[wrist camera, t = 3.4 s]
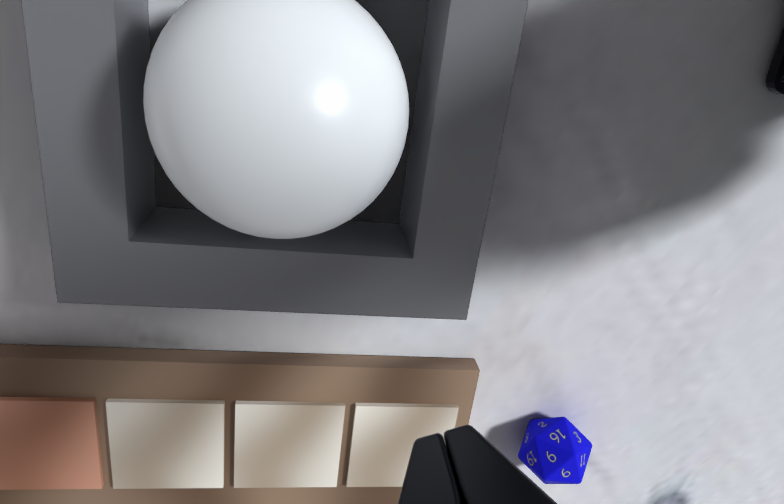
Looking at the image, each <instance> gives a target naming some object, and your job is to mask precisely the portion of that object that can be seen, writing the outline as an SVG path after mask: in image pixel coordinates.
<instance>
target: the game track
mask: <svg viewBox="0 0 784 504" xmlns="http://www.w3.org/2000/svg"><path fill="white" fill-rule="evenodd" d="M479 372H480V370H479V368H478V366H477V363H476V361H475V359H470V358H438V357H405V356H373V355H341V354H309V353H276V352H244V351H212V350H179V349H147V348H115V347H83V346H50V345H18V344H0V504H398V501H399V497H400V493H401V489H402V485H403V482H404V478H405V474H406V470H407V466H408V462H409V459H410V455H411V451H412V447H413V444H414V442H415V440H416V439H418V438H421V437H424V436H428V435H431V434H435V433H440V434H442V435H443V438H444V432H445V431H446V430H449V429H453V428H457V427H460V426H464V425H468V423H469V418H470V414H471V409H472V404H473V400H474V395H475V390H476V386H477V381H478V376H479ZM444 441H445V440H444Z"/></svg>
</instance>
